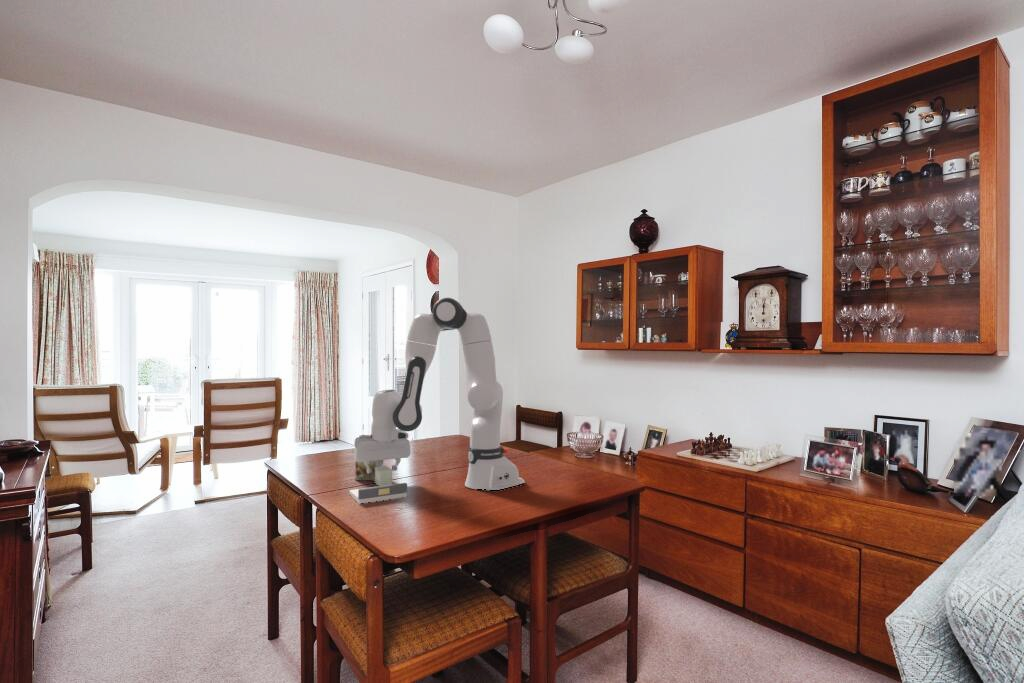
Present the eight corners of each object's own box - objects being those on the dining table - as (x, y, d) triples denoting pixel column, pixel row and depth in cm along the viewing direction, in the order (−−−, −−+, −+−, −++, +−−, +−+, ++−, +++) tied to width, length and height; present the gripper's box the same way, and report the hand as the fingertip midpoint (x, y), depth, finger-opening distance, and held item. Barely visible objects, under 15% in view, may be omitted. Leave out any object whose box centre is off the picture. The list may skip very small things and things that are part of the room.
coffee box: (354, 480, 191) (355, 437, 191) (360, 476, 197) (361, 434, 197) (377, 481, 190) (378, 438, 190) (383, 477, 196) (384, 435, 196)
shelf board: (394, 488, 181) (394, 475, 181) (407, 497, 171) (407, 483, 171) (349, 494, 173) (349, 481, 173) (359, 504, 162) (359, 490, 162)
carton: (385, 481, 190) (385, 465, 190) (391, 486, 184) (392, 469, 184) (374, 483, 188) (375, 467, 188) (380, 487, 182) (381, 471, 182)
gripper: (357, 437, 178) (355, 476, 178) (412, 433, 189) (411, 470, 189) (352, 434, 183) (351, 472, 183) (406, 430, 194) (405, 467, 194)
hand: (382, 471), depth 186 cm, fingers open, 8 cm apart
